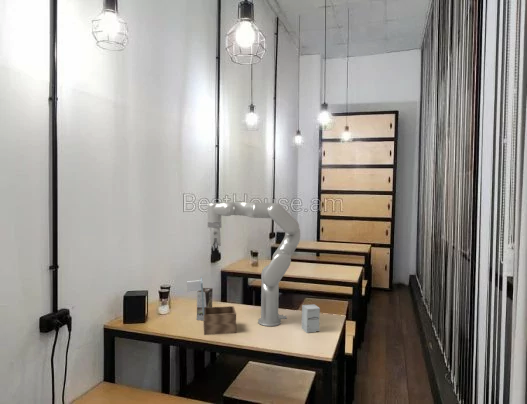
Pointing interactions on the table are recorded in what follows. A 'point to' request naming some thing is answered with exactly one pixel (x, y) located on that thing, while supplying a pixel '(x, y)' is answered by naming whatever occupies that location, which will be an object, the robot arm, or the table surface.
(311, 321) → the supplement box
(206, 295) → the coffee box
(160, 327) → the table surface
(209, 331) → the walnut box
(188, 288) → the lid
